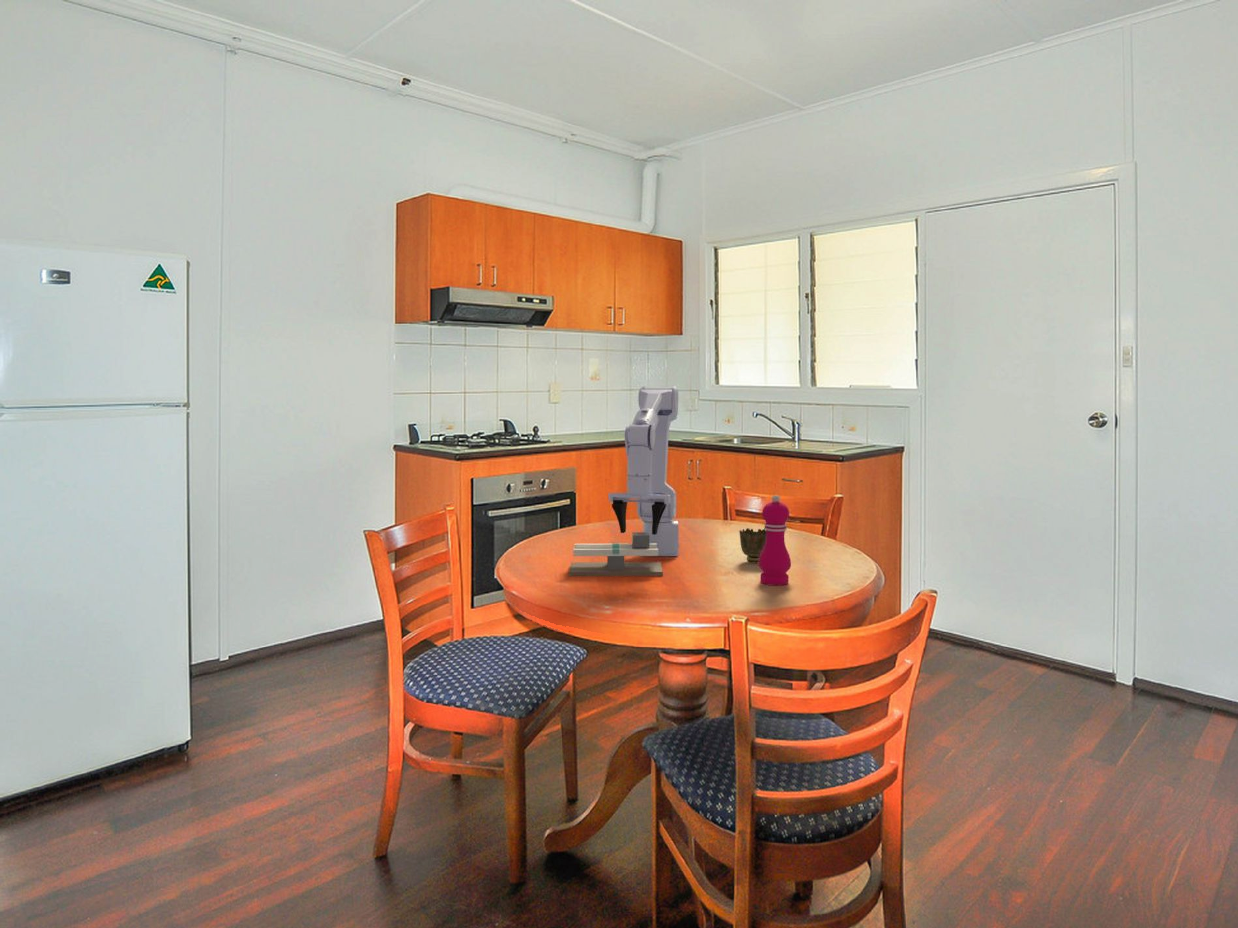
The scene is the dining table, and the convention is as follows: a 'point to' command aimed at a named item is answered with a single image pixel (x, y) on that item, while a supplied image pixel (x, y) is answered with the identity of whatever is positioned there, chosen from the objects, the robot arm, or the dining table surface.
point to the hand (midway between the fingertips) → (638, 533)
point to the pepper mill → (775, 544)
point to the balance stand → (615, 561)
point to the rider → (640, 540)
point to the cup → (752, 543)
